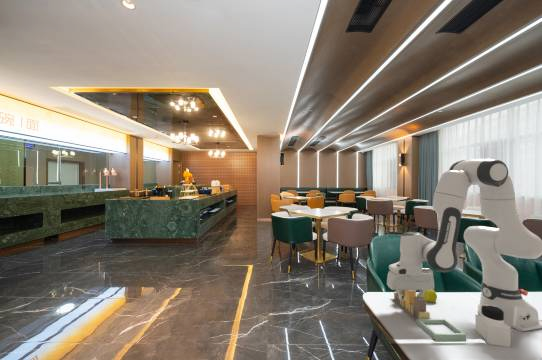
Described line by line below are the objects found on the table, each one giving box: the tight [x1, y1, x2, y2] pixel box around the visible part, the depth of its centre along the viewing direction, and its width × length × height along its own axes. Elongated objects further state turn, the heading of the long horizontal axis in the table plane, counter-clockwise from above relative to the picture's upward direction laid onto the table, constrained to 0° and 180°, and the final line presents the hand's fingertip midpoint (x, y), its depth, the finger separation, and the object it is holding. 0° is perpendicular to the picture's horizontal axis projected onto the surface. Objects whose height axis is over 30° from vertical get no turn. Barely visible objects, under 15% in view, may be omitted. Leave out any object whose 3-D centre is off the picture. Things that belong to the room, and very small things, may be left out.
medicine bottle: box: [474, 305, 512, 348], centre depth 87 cm, size 7×7×12 cm
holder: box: [389, 290, 432, 323], centre depth 105 cm, size 19×8×9 cm, turn 3°
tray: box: [415, 318, 467, 343], centre depth 90 cm, size 12×10×3 cm
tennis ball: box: [418, 289, 438, 303], centre depth 115 cm, size 7×7×7 cm
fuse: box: [405, 290, 417, 310], centre depth 105 cm, size 3×3×10 cm
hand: (410, 298), depth 105 cm, fingers open, 7 cm apart
